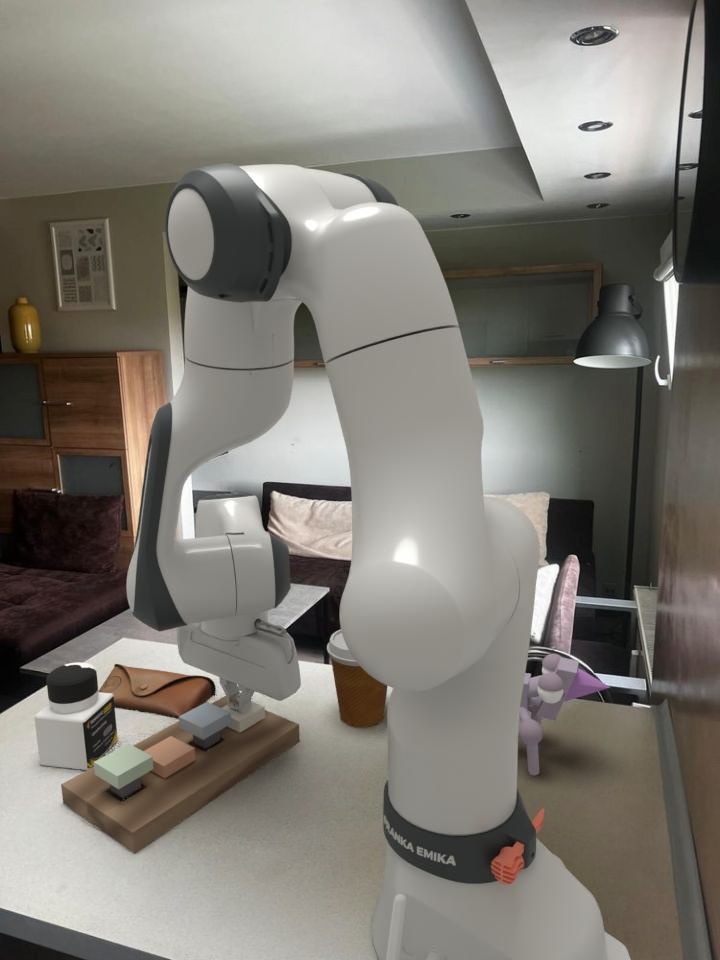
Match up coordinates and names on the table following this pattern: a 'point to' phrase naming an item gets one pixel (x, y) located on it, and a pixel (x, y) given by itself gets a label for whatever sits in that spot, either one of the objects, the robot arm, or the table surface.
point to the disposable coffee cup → (355, 687)
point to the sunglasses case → (157, 690)
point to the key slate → (205, 723)
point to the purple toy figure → (550, 699)
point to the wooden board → (178, 781)
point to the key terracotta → (170, 756)
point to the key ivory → (245, 717)
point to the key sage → (124, 769)
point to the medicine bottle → (75, 719)
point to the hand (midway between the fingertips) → (239, 708)
